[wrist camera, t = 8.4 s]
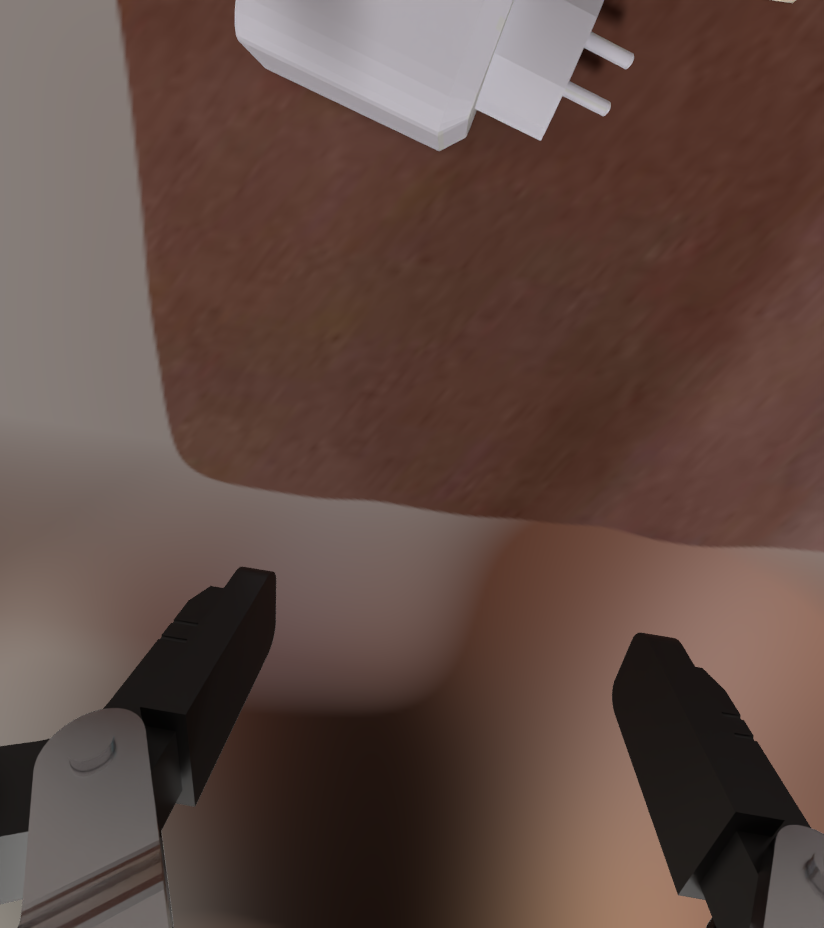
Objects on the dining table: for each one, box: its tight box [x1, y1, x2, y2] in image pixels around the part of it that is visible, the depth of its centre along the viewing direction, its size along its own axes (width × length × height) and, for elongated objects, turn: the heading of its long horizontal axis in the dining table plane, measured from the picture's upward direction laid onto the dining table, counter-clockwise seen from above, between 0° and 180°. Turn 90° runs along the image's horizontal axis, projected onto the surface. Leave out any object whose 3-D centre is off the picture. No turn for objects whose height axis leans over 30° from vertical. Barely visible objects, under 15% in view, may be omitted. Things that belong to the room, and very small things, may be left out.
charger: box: [235, 0, 634, 151], centre depth 19 cm, size 5×9×15 cm
